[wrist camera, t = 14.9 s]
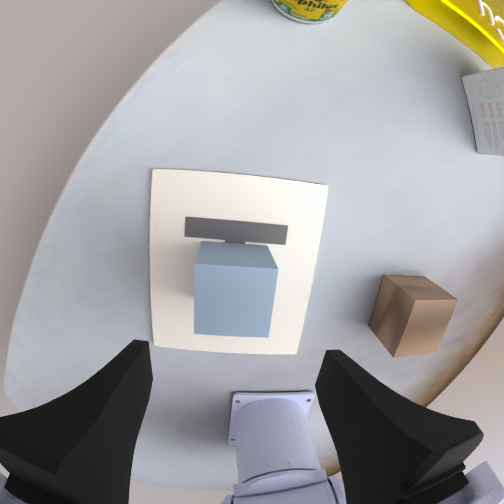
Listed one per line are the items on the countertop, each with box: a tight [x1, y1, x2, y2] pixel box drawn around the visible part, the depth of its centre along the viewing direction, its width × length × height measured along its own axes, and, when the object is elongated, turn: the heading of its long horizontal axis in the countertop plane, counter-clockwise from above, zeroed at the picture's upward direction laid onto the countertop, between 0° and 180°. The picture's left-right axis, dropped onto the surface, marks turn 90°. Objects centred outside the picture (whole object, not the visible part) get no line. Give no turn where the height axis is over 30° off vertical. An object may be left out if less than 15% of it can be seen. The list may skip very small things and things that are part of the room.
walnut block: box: [368, 274, 458, 358], centre depth 20 cm, size 5×5×5 cm
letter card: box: [150, 169, 329, 354], centre depth 20 cm, size 14×12×1 cm
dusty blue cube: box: [194, 241, 278, 338], centre depth 18 cm, size 4×4×4 cm
